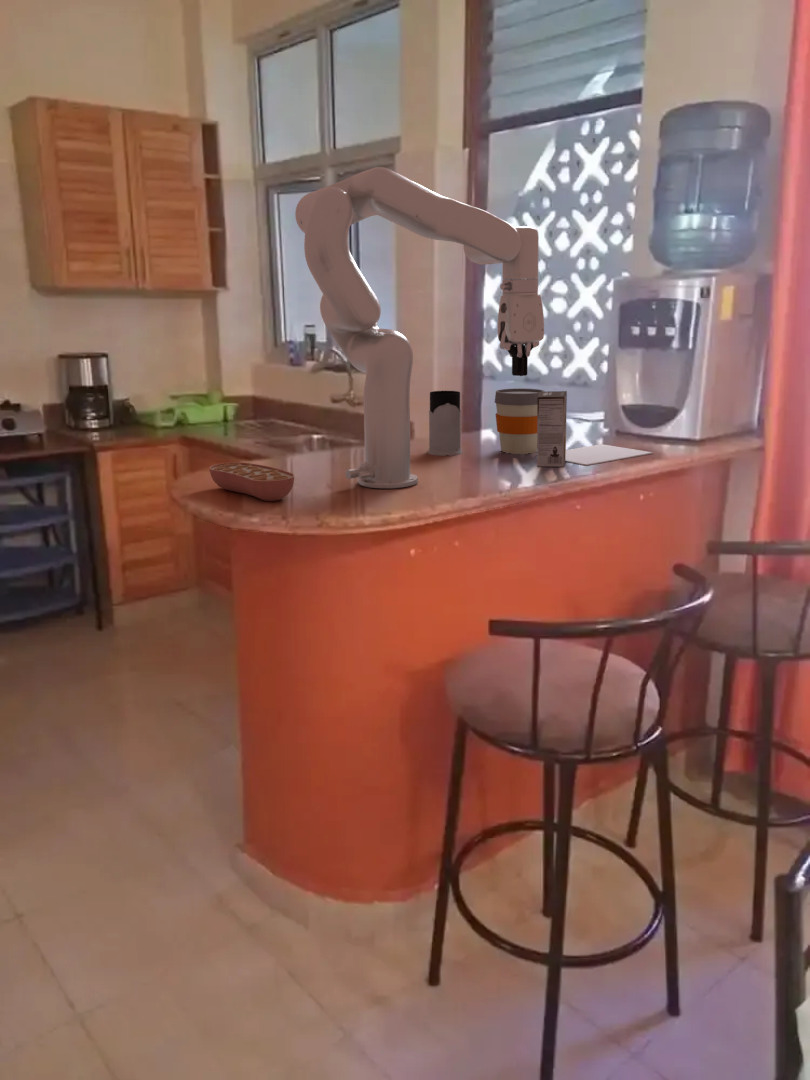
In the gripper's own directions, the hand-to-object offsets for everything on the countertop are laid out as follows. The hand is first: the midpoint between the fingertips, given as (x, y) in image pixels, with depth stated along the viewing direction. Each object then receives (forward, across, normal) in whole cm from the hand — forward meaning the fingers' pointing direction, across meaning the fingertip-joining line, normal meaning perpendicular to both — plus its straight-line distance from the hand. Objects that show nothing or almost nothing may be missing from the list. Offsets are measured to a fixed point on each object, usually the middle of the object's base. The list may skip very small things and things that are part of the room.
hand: (519, 375), depth 191 cm
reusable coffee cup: (+22, +17, +17) cm, 32 cm away
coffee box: (+21, +11, 0) cm, 24 cm away
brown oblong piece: (+20, -58, +16) cm, 64 cm away
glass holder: (+21, +3, +30) cm, 37 cm away
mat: (+22, +27, +1) cm, 34 cm away
